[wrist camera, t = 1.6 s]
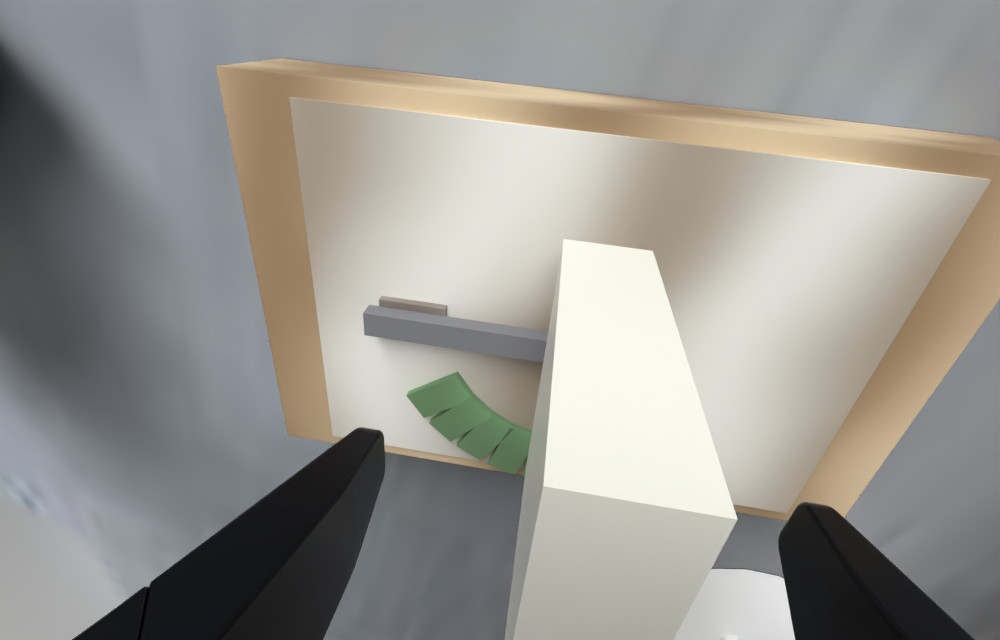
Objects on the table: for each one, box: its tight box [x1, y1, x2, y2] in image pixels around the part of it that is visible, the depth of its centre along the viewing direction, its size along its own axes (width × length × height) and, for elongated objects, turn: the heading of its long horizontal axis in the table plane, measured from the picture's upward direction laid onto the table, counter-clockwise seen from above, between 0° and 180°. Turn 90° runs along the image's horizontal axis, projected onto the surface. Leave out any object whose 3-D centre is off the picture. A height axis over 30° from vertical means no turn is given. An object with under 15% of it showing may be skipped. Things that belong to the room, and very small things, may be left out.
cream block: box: [363, 239, 738, 640], centre depth 9 cm, size 6×6×7 cm
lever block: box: [216, 58, 1000, 521], centre depth 13 cm, size 16×10×3 cm, turn 84°
